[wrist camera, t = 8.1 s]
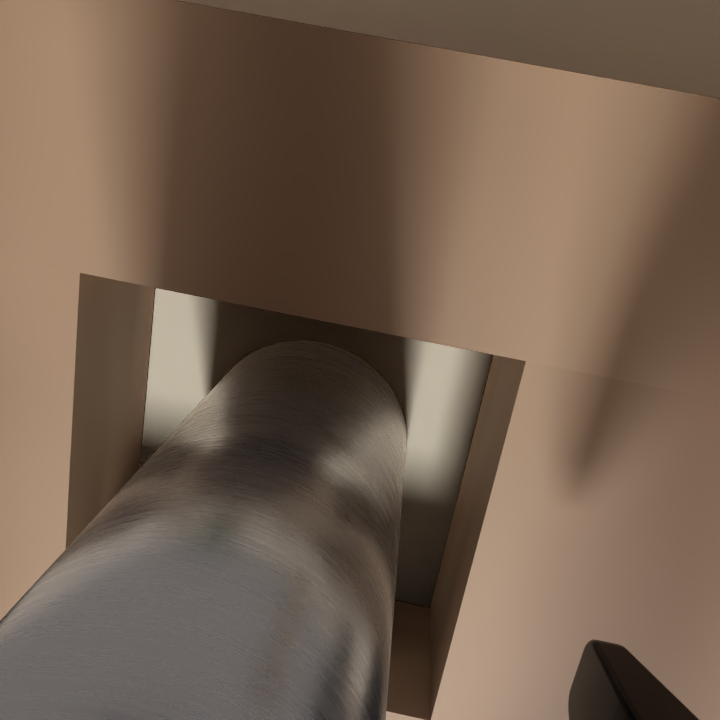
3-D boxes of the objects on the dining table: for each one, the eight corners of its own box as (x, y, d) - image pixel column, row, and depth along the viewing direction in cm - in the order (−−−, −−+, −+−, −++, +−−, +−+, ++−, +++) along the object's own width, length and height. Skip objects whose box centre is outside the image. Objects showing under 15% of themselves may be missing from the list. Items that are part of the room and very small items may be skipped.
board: (971, 172, 11) (1161, 178, 8) (691, 809, 15) (753, 962, 12) (-200, -42, 12) (-402, -104, 9) (-156, 621, 16) (-283, 722, 13)
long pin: (425, 363, 13) (415, 964, 3) (385, 544, 14) (295, 1364, 5) (219, 321, 13) (-356, 785, 3) (198, 504, 14) (-272, 1217, 5)
